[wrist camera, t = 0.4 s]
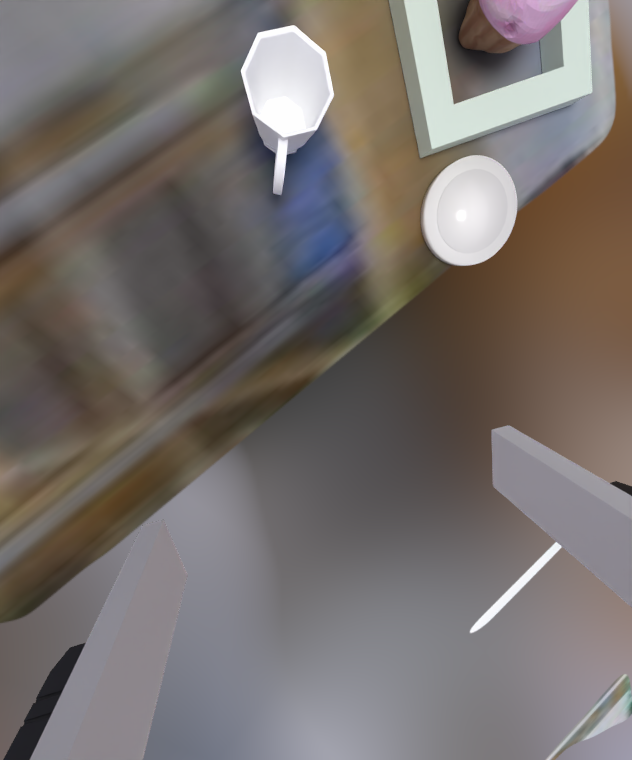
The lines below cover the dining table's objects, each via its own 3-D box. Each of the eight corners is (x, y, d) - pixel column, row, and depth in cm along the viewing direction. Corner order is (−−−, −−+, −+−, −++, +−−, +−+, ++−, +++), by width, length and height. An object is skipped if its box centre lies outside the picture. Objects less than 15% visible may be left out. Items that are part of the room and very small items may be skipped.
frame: (375, -67, 29) (385, -99, 26) (555, -123, 30) (581, -159, 27) (420, 158, 35) (432, 149, 32) (570, 105, 35) (592, 92, 33)
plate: (410, 178, 35) (416, 174, 34) (502, 145, 36) (511, 140, 34) (431, 279, 38) (437, 279, 37) (515, 247, 39) (523, 246, 38)
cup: (321, 97, 32) (341, 38, 24) (308, 209, 34) (322, 188, 27) (248, 78, 30) (244, 9, 23) (240, 197, 33) (234, 170, 25)
